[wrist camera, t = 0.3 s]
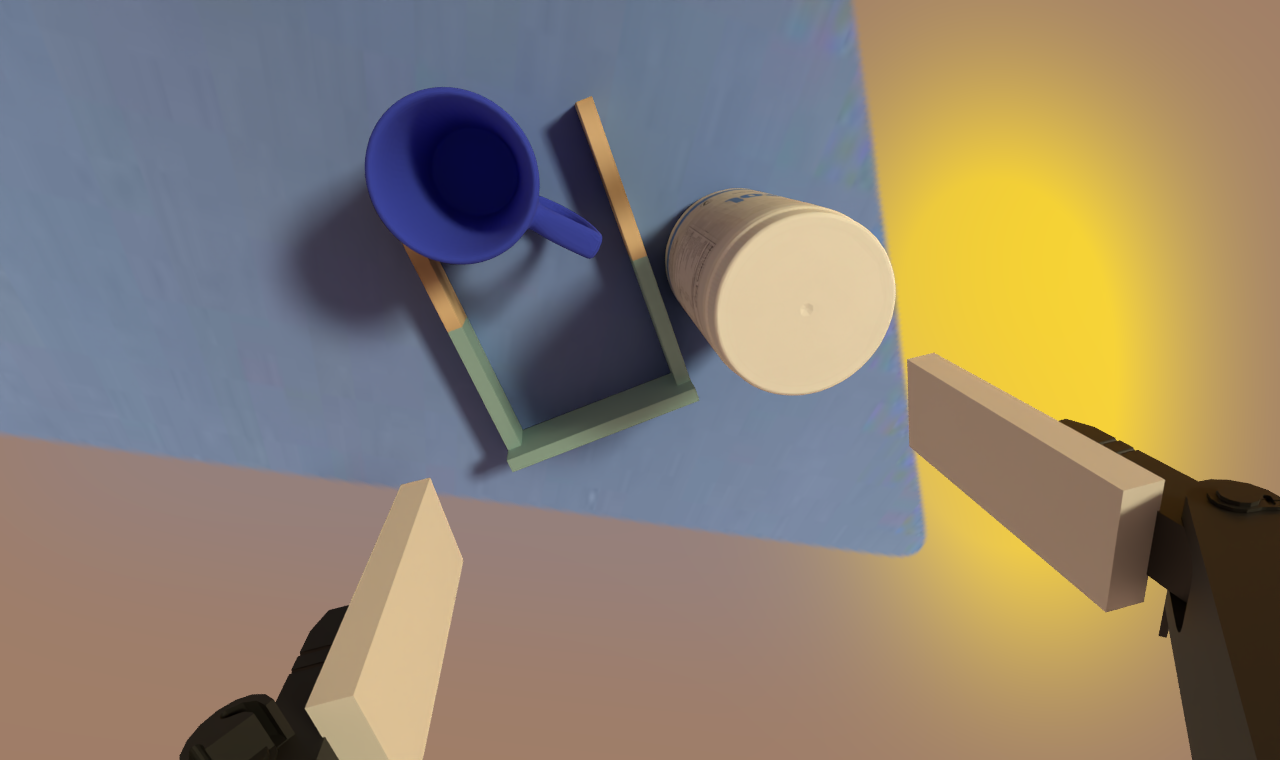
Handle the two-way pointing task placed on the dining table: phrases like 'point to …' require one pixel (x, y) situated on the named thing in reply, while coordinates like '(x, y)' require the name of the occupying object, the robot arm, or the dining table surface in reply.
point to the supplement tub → (781, 288)
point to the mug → (462, 180)
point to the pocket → (593, 417)
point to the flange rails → (607, 169)
